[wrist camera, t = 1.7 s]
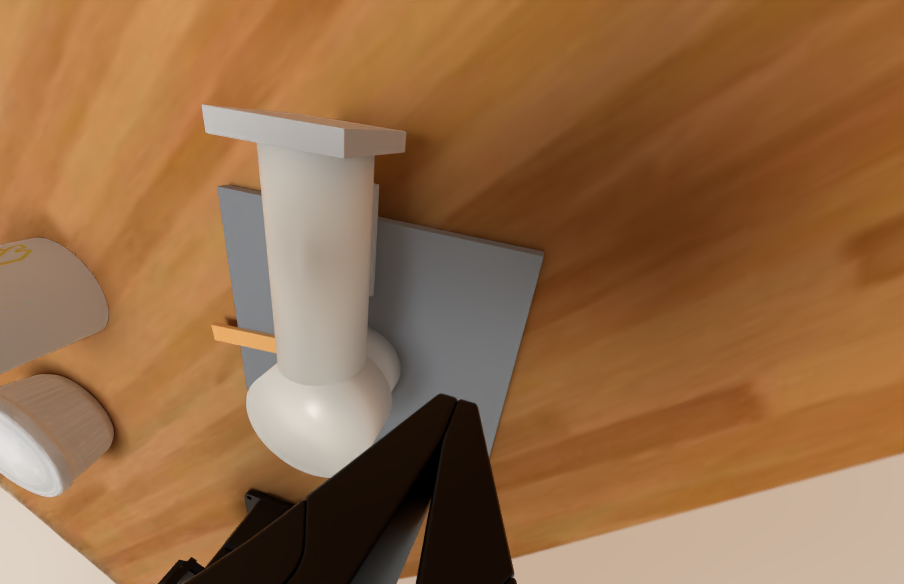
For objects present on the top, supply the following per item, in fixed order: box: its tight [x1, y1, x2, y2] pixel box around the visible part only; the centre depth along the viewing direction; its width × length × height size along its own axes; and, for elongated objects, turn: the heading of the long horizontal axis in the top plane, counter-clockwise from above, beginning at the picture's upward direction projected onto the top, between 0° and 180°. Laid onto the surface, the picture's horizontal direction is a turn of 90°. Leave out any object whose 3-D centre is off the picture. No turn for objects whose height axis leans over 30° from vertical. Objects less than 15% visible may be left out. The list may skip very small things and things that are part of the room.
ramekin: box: [0, 374, 114, 497], centre depth 33 cm, size 11×11×5 cm
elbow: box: [202, 105, 407, 478], centre depth 16 cm, size 17×6×5 cm, turn 172°
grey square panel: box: [211, 184, 544, 456], centre depth 21 cm, size 20×20×3 cm
